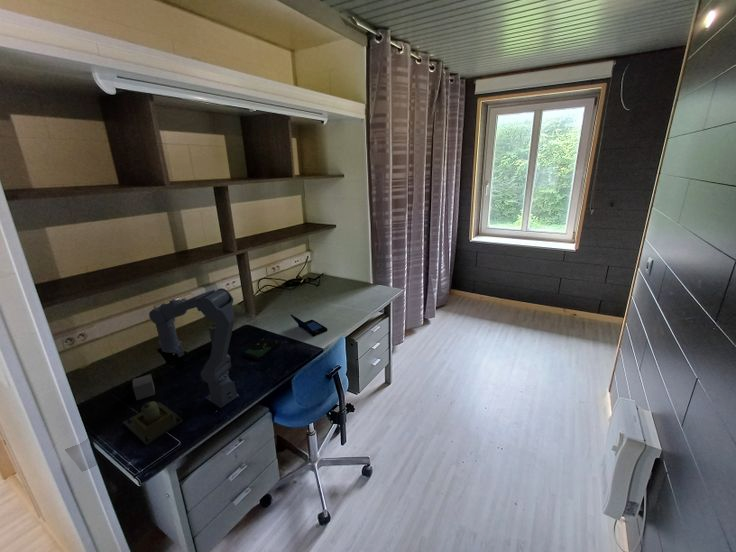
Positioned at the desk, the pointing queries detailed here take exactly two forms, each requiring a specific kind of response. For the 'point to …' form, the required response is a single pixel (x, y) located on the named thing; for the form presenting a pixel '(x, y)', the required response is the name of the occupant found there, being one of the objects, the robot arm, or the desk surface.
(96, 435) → the desk surface
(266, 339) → the disk drive
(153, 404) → the switch lever
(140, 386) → the grey cube
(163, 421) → the mounting bracket
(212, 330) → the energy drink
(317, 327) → the black handheld device
